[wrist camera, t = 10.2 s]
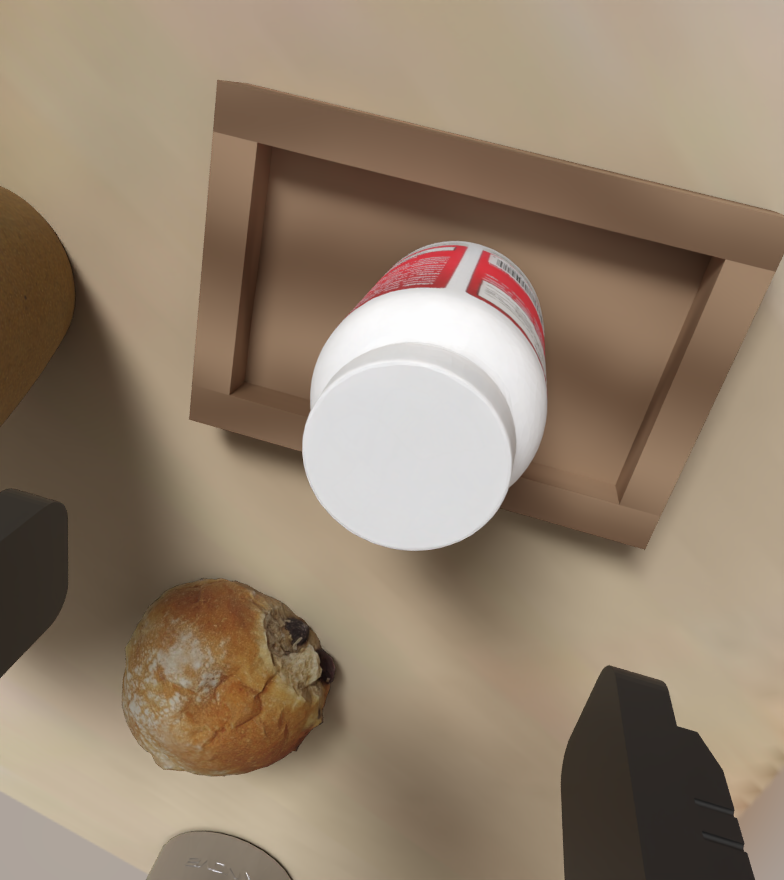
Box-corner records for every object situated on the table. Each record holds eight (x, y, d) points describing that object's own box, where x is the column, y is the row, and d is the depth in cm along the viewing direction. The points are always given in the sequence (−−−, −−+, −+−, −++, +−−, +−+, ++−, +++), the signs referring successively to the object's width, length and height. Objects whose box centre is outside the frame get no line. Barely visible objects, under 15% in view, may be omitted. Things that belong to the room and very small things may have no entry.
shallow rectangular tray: (636, 514, 28) (644, 549, 25) (216, 396, 29) (189, 419, 27) (772, 210, 22) (799, 221, 20) (247, 83, 24) (217, 80, 21)
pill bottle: (356, 376, 26) (248, 532, 16) (395, 215, 23) (293, 286, 14) (512, 425, 26) (496, 613, 16) (570, 267, 23) (594, 378, 13)
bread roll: (208, 520, 37) (66, 591, 31) (357, 605, 31) (222, 711, 25) (214, 660, 41) (91, 746, 35) (346, 755, 36) (228, 875, 30)
